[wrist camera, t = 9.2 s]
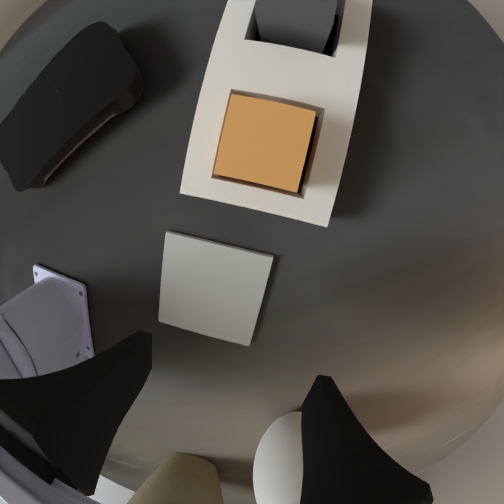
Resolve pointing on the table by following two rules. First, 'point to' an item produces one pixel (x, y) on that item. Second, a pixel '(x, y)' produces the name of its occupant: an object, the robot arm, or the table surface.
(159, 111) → the table surface
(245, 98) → the orange plug
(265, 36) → the dark grey block
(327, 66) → the white slotted board
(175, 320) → the grey mat
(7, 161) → the black sponge
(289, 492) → the sauce bottle
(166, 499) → the plant pot
